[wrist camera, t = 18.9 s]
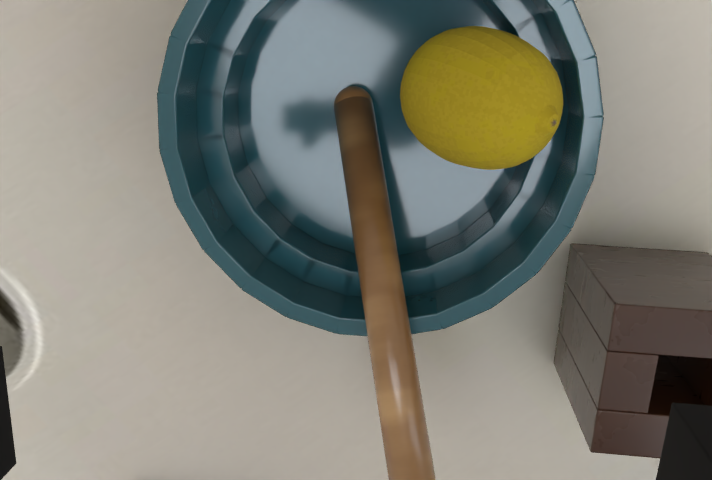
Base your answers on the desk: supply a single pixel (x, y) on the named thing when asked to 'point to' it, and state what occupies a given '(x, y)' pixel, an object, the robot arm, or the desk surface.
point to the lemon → (481, 97)
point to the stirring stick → (382, 290)
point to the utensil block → (634, 342)
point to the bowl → (397, 143)
